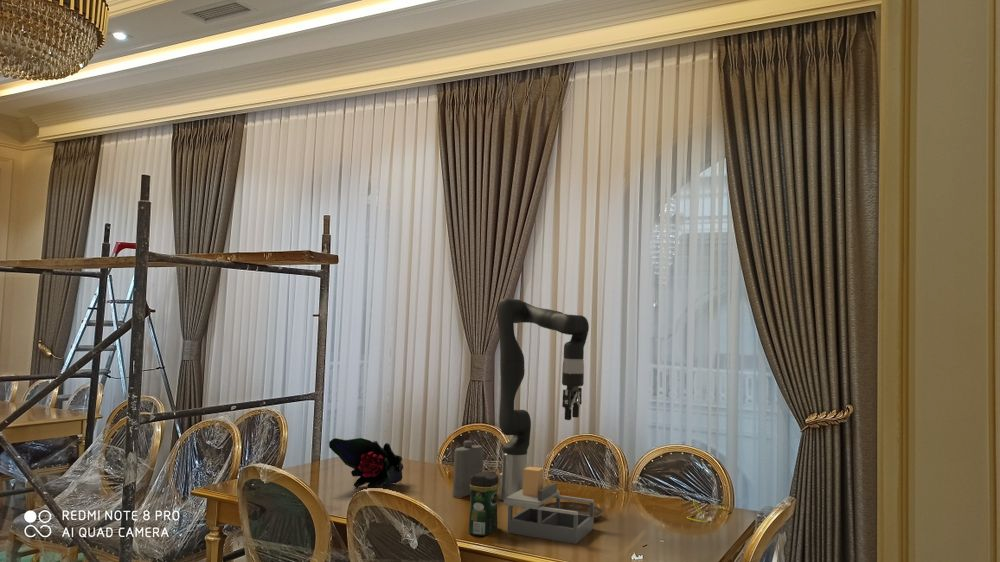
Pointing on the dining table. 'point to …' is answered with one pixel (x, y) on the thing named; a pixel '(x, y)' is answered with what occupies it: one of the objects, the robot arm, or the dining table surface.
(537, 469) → the module
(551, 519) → the case
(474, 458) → the flask
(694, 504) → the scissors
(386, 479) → the decorative plant
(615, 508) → the dining table surface
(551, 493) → the lid
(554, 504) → the plant saucer
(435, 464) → the dining table surface
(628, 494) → the dining table surface
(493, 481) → the coffee jar
